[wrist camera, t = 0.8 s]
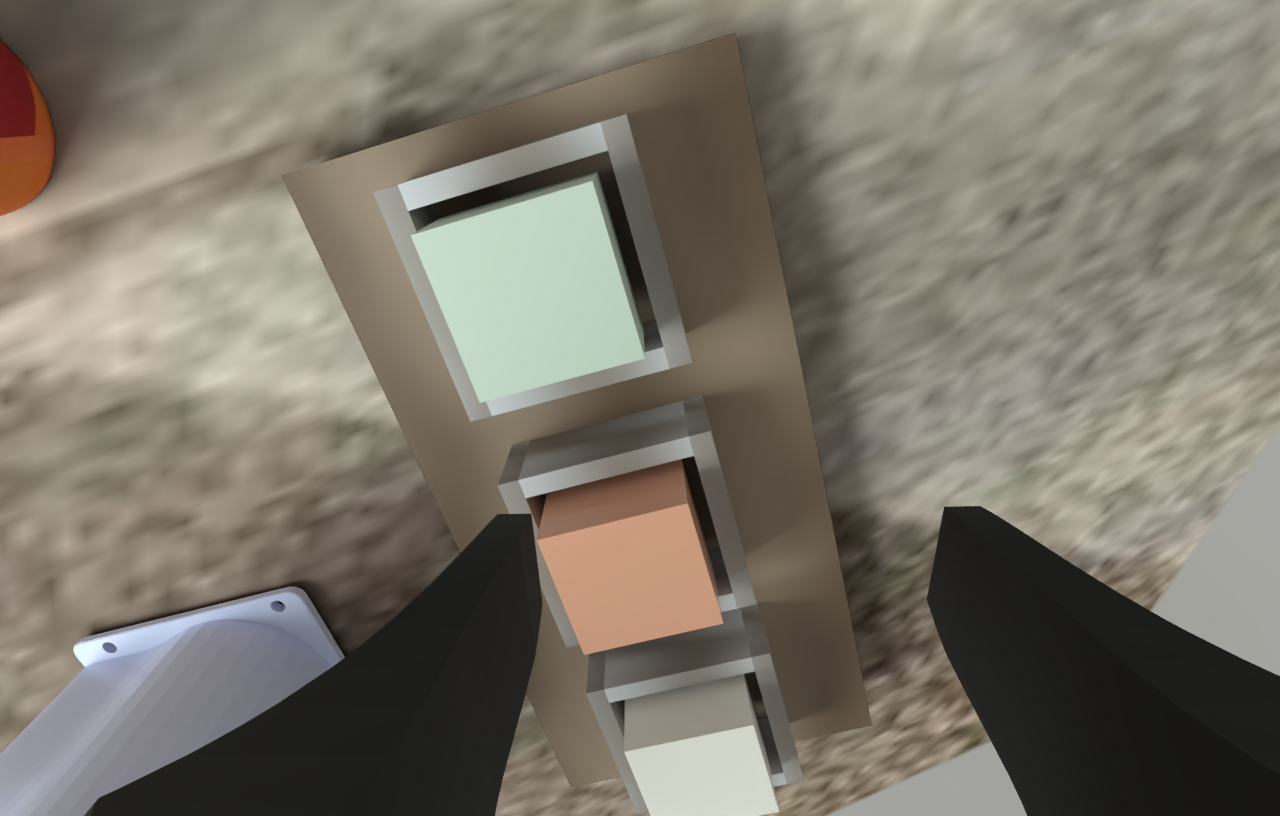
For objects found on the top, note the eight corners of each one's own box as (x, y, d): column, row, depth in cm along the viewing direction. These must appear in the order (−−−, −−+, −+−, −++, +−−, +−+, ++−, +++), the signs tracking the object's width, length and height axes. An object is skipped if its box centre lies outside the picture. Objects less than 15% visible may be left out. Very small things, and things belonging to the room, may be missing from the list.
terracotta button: (588, 598, 21) (584, 655, 19) (547, 491, 20) (536, 540, 17) (713, 568, 21) (723, 623, 19) (681, 457, 19) (687, 503, 17)
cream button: (656, 769, 24) (658, 835, 22) (624, 689, 23) (624, 751, 21) (765, 746, 24) (779, 811, 22) (741, 664, 22) (753, 724, 20)
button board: (574, 743, 29) (565, 847, 25) (314, 168, 19) (232, 185, 15) (856, 684, 28) (894, 782, 24) (724, 39, 18) (751, 20, 14)
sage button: (498, 366, 18) (479, 403, 16) (439, 217, 16) (410, 235, 14) (643, 327, 18) (644, 358, 15) (597, 170, 16) (592, 181, 14)
